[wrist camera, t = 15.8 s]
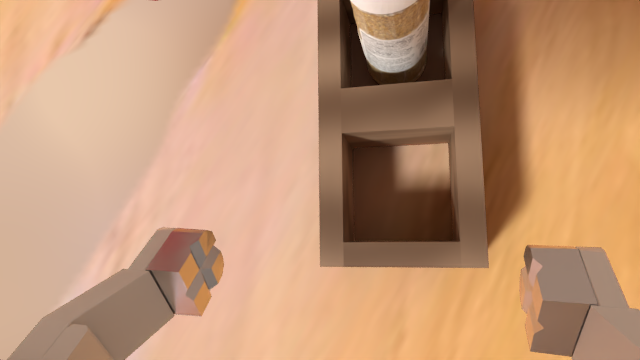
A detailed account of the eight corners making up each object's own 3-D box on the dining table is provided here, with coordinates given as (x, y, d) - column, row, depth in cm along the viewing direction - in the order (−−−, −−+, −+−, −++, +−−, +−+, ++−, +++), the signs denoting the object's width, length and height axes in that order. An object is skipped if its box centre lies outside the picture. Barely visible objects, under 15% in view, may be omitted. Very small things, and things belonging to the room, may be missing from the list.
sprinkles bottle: (382, 25, 33) (359, -110, 20) (437, 44, 32) (453, -86, 19) (357, 79, 33) (318, -23, 20) (412, 99, 32) (409, 7, 19)
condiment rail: (476, 262, 29) (488, 267, 24) (334, 261, 31) (320, 266, 27) (461, -8, 32) (469, -52, 27) (331, 8, 34) (317, -29, 29)
